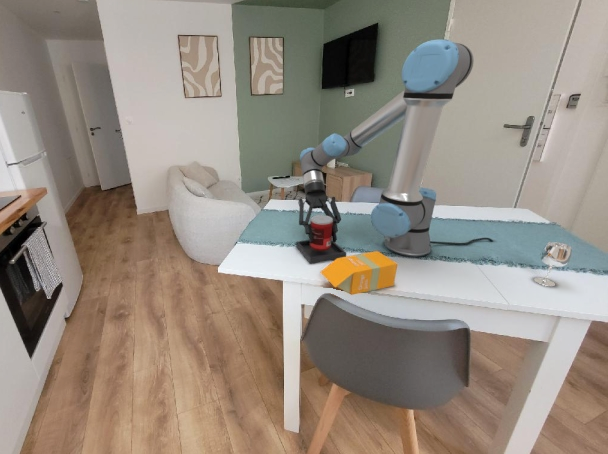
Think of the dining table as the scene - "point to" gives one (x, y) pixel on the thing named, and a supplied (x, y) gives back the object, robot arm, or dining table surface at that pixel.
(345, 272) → the orange juice
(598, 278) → the dining table surface
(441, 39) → the robot arm
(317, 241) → the canned food
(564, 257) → the wineglass
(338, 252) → the base pad
